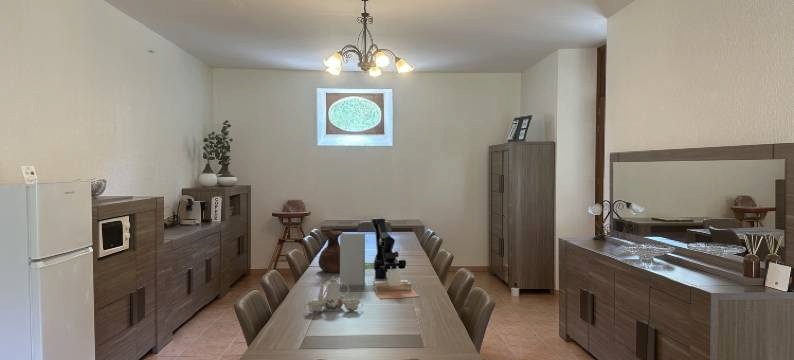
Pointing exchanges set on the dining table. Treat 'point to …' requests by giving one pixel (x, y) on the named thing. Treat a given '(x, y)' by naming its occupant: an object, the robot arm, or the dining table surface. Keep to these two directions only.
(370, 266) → the decorative card
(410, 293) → the mat
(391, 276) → the block
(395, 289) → the board
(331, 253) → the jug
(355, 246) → the tall white box
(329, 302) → the chinaware
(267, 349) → the dining table surface
